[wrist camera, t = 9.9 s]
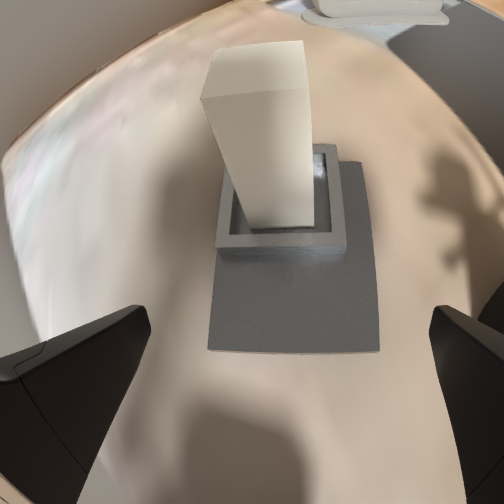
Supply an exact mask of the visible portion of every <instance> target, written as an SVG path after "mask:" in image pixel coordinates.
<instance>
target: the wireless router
mask: <svg viewBox="0 0 504 504" xmlns="http://www.w3.org/2000/svg"><path fill="white" fill-rule="evenodd" d="M312 3H313V6H314V8H310V9H308V10H305V11H304V12H303V13H302V18H303V20H304V21H305V22H306V23H308V24H311V25H314V26H319V27H323V28H348V27H358V26H371V25H391V24H422V25H448V23H449V19H448V17H447V16H446V15H444V14H443V13H441V12H440V9H441V7H442V3H443V0H312Z"/></svg>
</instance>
